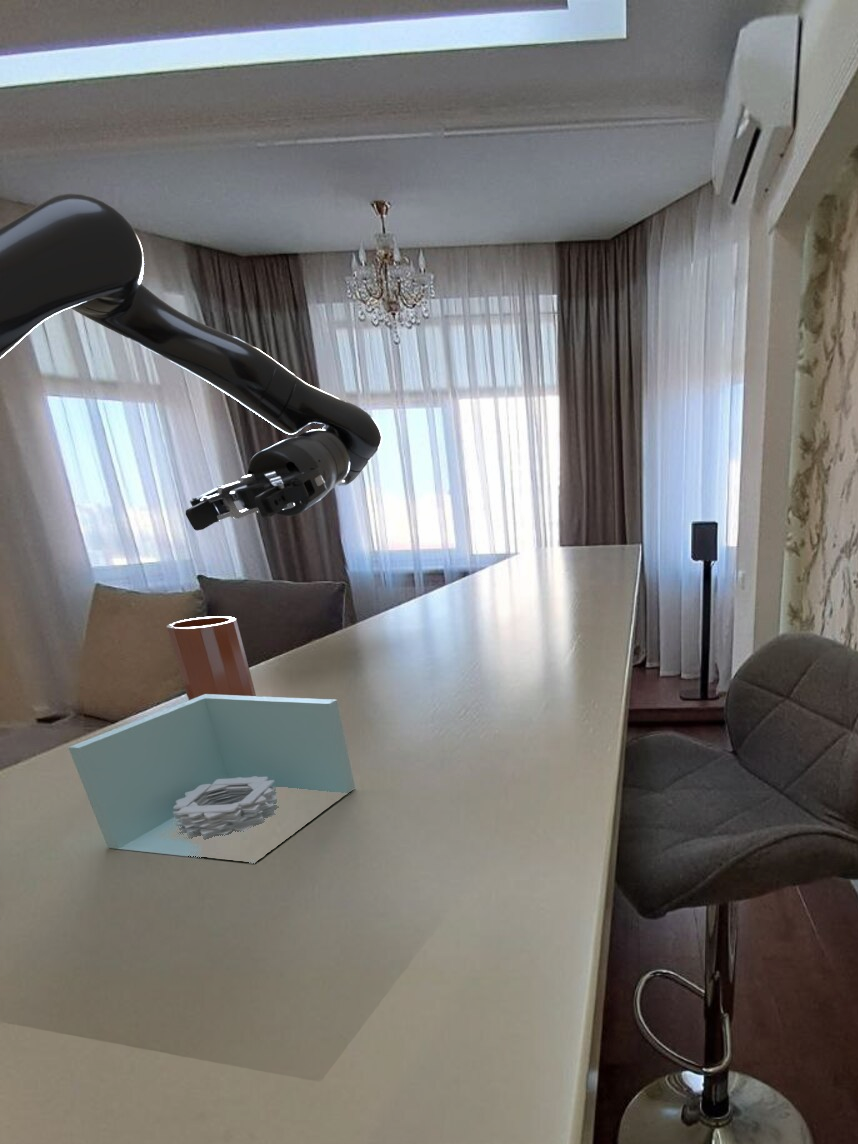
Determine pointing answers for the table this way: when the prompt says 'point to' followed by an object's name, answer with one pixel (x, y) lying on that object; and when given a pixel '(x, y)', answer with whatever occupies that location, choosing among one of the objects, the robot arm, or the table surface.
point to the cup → (211, 657)
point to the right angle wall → (209, 767)
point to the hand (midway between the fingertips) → (226, 514)
